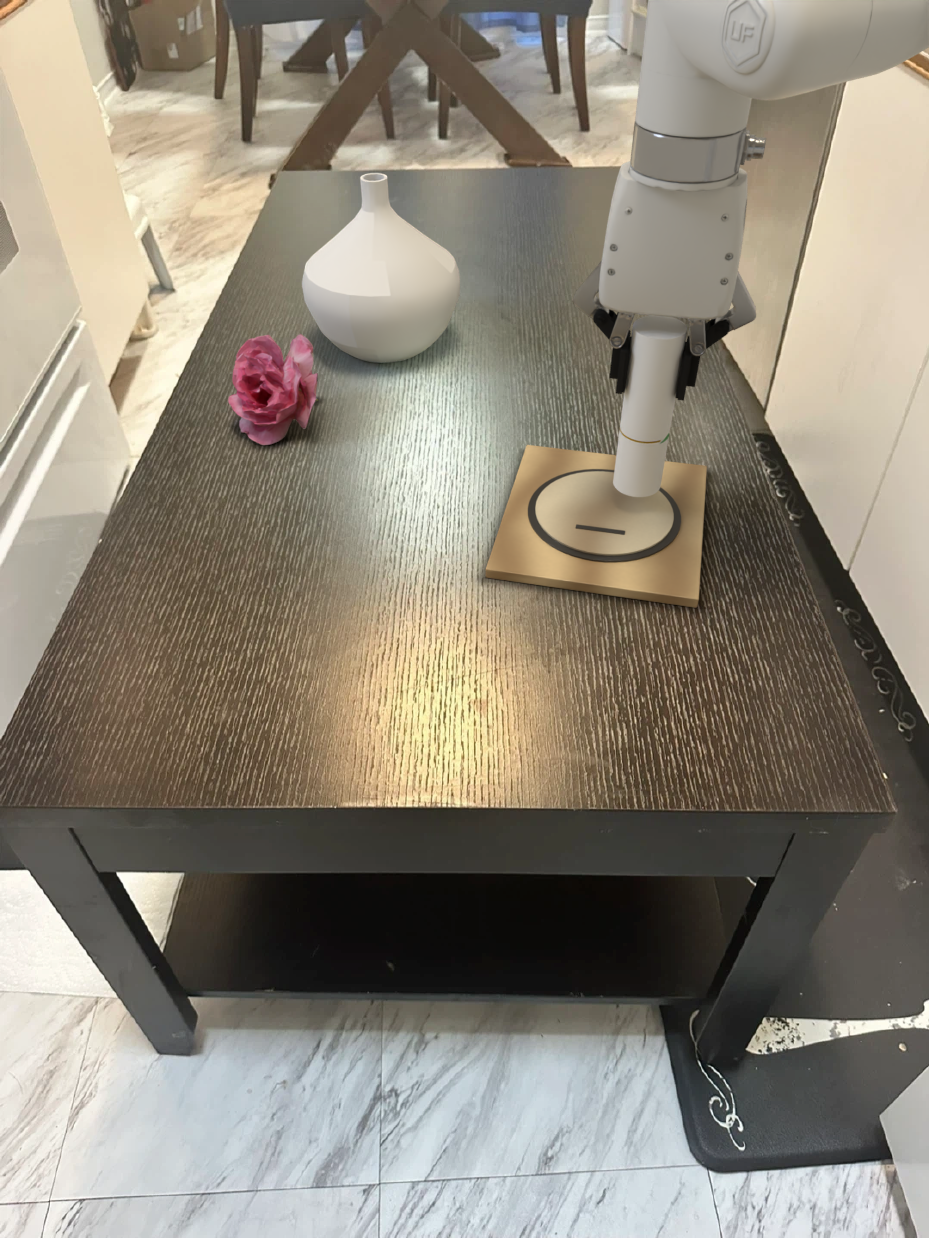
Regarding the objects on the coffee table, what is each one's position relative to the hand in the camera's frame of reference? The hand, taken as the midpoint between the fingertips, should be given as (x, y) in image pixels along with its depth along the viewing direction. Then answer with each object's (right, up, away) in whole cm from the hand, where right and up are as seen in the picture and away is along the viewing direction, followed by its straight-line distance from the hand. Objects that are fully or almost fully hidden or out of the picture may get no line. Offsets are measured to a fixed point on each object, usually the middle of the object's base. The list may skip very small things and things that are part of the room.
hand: (651, 387), depth 74 cm
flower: (-36, +2, +21) cm, 42 cm away
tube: (0, -7, +7) cm, 10 cm away
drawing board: (-3, -10, +8) cm, 14 cm away
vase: (-25, +14, +34) cm, 45 cm away
